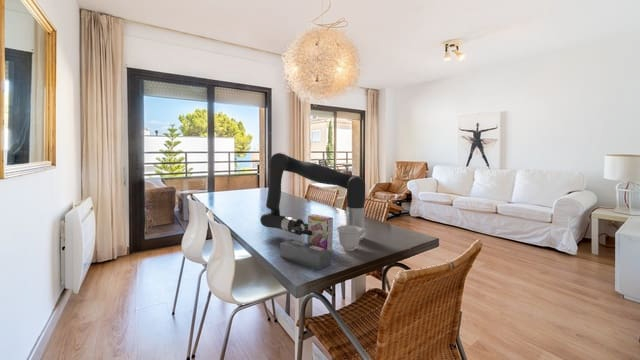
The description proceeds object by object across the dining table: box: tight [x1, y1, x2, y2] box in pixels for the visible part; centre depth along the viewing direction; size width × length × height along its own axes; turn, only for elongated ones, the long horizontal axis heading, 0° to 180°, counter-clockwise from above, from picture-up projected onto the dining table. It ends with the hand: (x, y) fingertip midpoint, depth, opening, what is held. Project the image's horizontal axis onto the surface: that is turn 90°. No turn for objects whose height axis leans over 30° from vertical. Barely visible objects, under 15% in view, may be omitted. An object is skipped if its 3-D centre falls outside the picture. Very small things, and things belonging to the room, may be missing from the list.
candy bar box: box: [306, 213, 334, 254], centre depth 129 cm, size 11×5×16 cm, turn 58°
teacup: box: [336, 224, 368, 252], centre depth 133 cm, size 12×15×10 cm
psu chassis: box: [279, 238, 331, 271], centre depth 119 cm, size 7×22×6 cm, turn 52°
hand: (317, 231), depth 130 cm, fingers open, 8 cm apart
